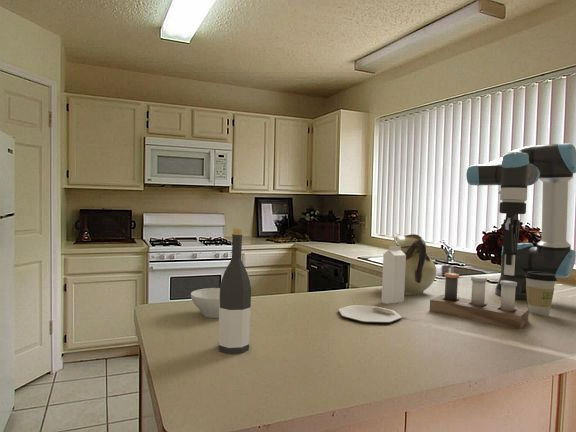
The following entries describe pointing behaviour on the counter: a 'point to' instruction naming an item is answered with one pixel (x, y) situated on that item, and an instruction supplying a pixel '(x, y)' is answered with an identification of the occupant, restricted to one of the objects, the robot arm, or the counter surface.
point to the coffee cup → (539, 291)
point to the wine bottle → (235, 303)
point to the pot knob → (451, 286)
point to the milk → (393, 275)
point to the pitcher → (416, 264)
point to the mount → (480, 312)
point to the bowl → (207, 301)
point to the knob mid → (478, 290)
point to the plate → (368, 314)
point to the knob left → (508, 295)
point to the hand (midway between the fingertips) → (509, 274)
